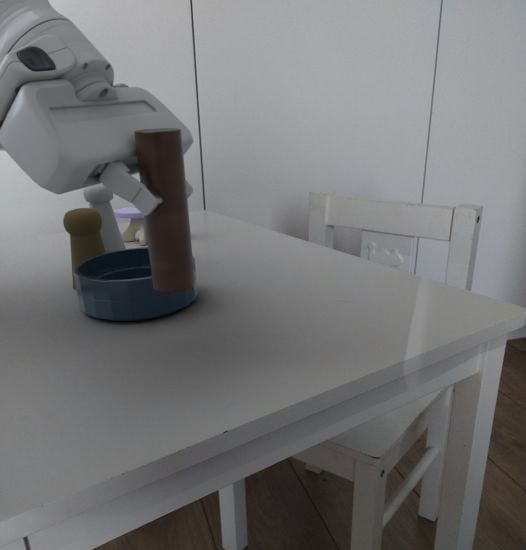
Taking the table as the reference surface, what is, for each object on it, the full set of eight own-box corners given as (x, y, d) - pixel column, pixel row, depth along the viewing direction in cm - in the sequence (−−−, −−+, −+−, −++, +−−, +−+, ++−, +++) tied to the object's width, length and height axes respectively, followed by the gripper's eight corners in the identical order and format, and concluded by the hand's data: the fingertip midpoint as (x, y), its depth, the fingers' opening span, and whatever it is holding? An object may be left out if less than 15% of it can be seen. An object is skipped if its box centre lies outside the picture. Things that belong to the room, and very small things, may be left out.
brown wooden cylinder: (148, 292, 53) (128, 132, 47) (158, 279, 57) (140, 128, 51) (190, 292, 53) (176, 131, 47) (198, 278, 57) (185, 127, 51)
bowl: (63, 325, 69) (54, 282, 67) (102, 285, 83) (96, 248, 81) (186, 323, 68) (181, 279, 66) (205, 282, 82) (202, 245, 80)
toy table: (111, 246, 104) (106, 214, 101) (128, 234, 112) (123, 204, 109) (163, 245, 102) (159, 213, 100) (176, 233, 110) (173, 203, 108)
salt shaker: (84, 273, 89) (68, 188, 84) (104, 262, 94) (90, 181, 89) (117, 274, 88) (103, 188, 82) (135, 264, 93) (123, 181, 87)
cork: (66, 285, 84) (51, 210, 79) (104, 275, 88) (91, 203, 83) (83, 294, 80) (68, 215, 75) (122, 284, 83) (110, 208, 79)
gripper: (115, 108, 61) (204, 205, 62) (-41, 122, 44) (83, 255, 45) (146, 59, 57) (239, 162, 58) (-11, 54, 40) (123, 199, 41)
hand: (171, 203), depth 51 cm, fingers closed on brown wooden cylinder, 4 cm apart
